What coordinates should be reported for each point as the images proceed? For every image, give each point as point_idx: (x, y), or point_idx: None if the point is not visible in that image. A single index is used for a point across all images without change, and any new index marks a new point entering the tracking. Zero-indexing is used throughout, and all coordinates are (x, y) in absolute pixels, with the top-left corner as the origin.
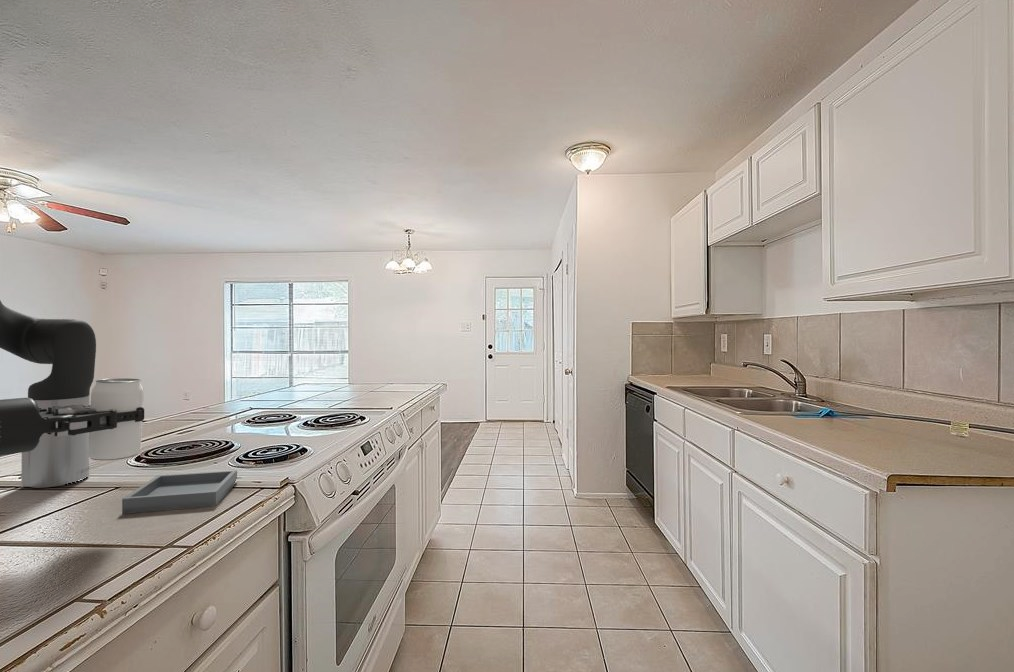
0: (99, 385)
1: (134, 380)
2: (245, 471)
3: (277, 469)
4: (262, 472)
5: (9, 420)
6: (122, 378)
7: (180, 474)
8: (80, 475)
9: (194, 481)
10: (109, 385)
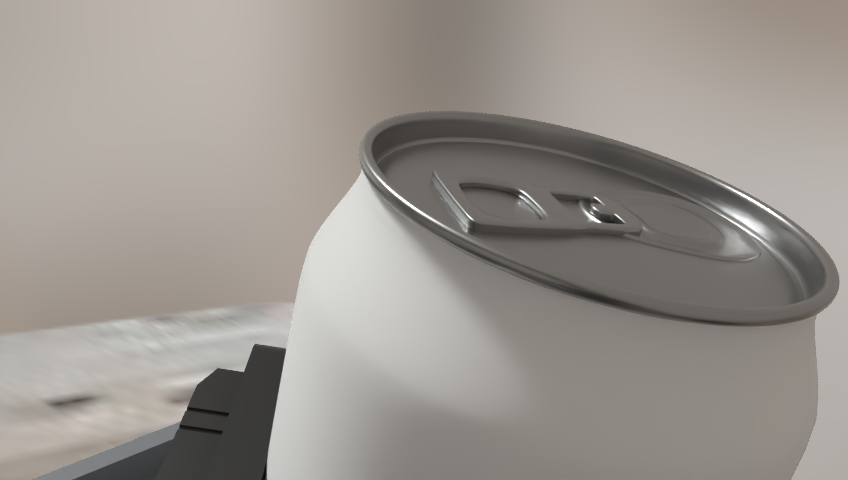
0: (697, 369)
1: (501, 135)
2: (189, 340)
3: (284, 312)
4: (263, 337)
5: None
6: (405, 116)
7: (89, 466)
8: None
9: (152, 474)
10: (801, 345)
